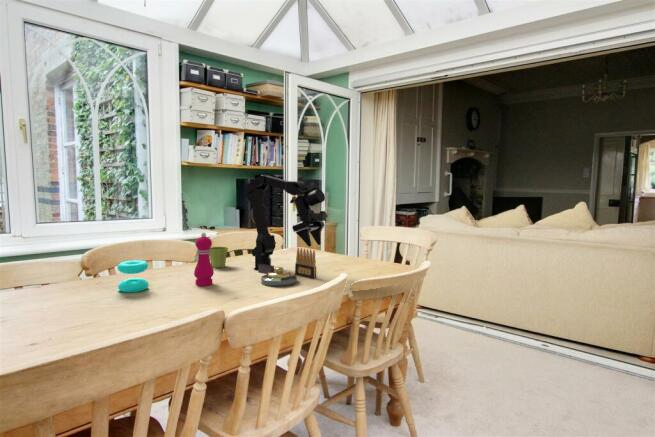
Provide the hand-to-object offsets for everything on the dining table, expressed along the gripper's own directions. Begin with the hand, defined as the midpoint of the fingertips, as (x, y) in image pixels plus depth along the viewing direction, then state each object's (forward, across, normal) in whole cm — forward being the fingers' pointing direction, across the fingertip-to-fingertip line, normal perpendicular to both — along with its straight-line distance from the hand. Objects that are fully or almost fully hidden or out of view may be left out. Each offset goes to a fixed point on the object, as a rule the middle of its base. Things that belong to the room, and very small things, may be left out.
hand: (314, 245), depth 169 cm
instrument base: (+10, -11, +14) cm, 21 cm away
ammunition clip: (+11, +2, +10) cm, 15 cm away
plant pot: (-5, 0, +50) cm, 51 cm away
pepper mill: (+2, -27, +37) cm, 46 cm away
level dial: (+7, -11, +16) cm, 21 cm away
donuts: (-3, -45, +54) cm, 70 cm away
